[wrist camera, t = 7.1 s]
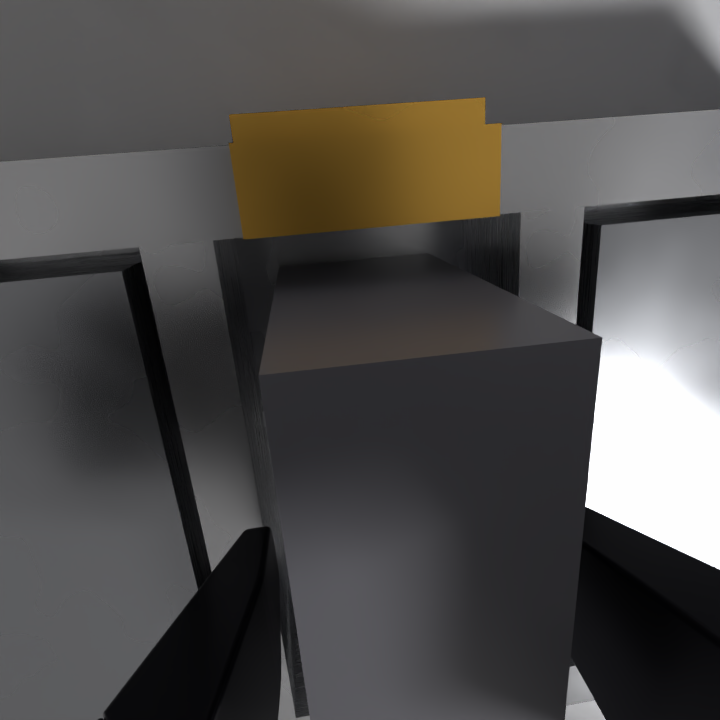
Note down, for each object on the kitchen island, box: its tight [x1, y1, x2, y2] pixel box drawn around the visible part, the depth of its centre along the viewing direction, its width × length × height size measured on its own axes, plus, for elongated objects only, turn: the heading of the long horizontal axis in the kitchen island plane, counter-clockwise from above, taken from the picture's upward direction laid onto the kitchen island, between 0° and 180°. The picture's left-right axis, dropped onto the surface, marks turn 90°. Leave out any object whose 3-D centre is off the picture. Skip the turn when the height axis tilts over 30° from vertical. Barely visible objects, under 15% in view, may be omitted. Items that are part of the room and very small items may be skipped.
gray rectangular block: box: [259, 253, 602, 720], centre depth 8 cm, size 8×3×6 cm, turn 4°
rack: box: [0, 97, 720, 720], centre depth 10 cm, size 12×18×4 cm
